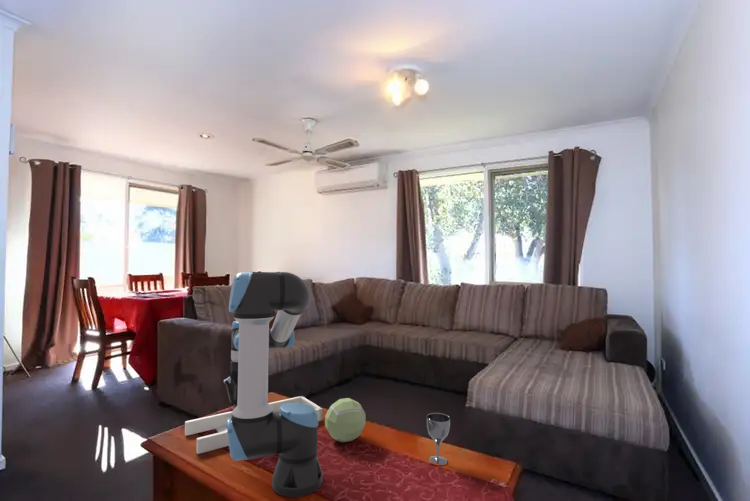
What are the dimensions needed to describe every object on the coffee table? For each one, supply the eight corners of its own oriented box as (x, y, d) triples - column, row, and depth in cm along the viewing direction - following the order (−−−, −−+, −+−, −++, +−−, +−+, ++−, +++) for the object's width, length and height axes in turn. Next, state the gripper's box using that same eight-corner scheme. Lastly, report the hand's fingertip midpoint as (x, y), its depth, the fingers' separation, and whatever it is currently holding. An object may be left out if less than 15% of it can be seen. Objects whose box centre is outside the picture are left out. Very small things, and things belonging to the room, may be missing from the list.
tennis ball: (370, 445, 149) (371, 404, 149) (331, 451, 143) (332, 409, 143) (357, 428, 163) (357, 391, 163) (321, 434, 157) (321, 395, 157)
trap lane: (322, 425, 170) (322, 408, 170) (197, 459, 140) (197, 439, 140) (301, 410, 185) (301, 395, 185) (184, 439, 155) (185, 421, 155)
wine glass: (431, 468, 133) (432, 423, 133) (422, 456, 141) (423, 413, 141) (453, 465, 135) (454, 420, 135) (443, 454, 143) (443, 411, 143)
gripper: (253, 355, 166) (251, 413, 165) (221, 360, 158) (219, 420, 157) (260, 359, 160) (258, 419, 159) (227, 364, 152) (225, 427, 151)
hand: (238, 419), depth 158 cm, fingers closed
